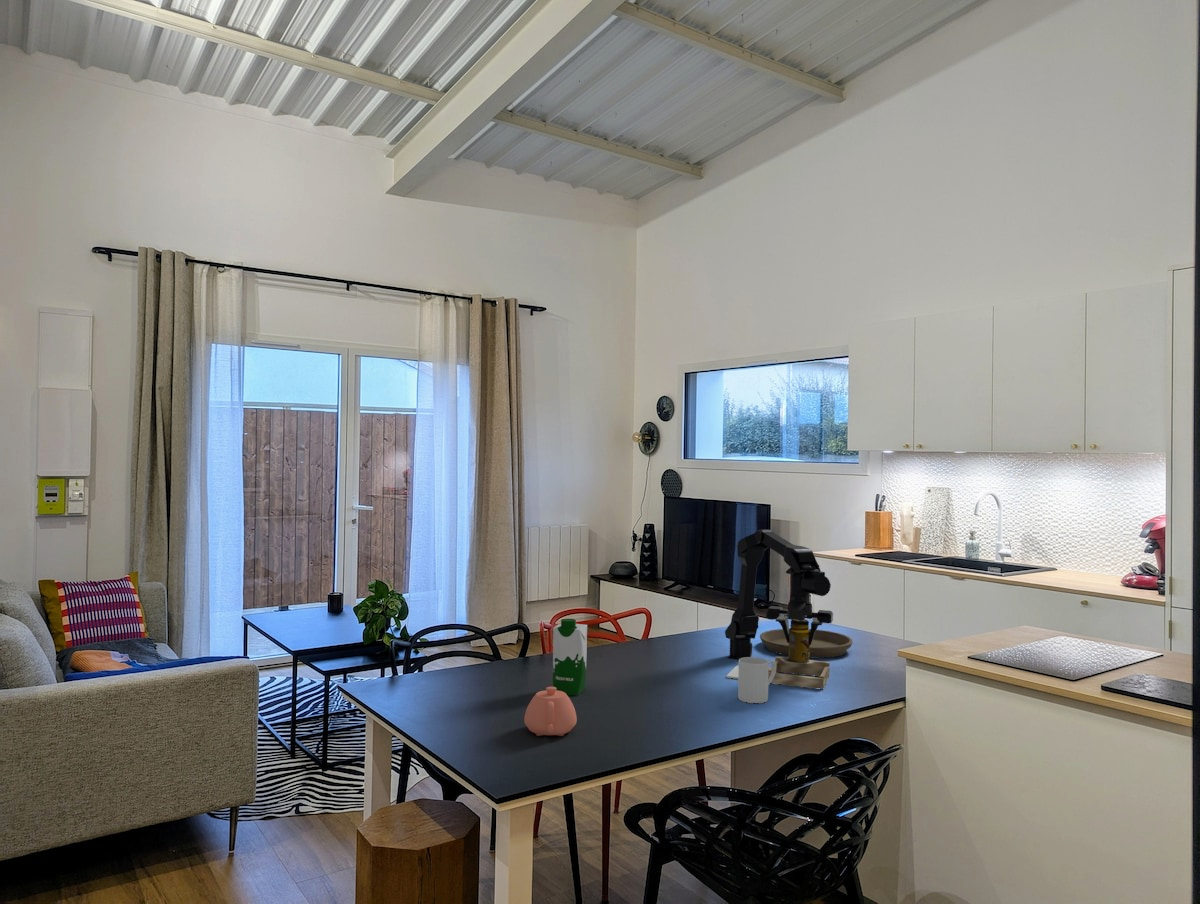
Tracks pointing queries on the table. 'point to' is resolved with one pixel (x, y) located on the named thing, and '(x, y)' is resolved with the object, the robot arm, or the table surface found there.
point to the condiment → (798, 642)
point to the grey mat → (734, 673)
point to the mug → (754, 679)
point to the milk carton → (569, 656)
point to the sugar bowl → (550, 713)
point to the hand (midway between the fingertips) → (799, 643)
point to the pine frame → (798, 668)
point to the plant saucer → (820, 646)
